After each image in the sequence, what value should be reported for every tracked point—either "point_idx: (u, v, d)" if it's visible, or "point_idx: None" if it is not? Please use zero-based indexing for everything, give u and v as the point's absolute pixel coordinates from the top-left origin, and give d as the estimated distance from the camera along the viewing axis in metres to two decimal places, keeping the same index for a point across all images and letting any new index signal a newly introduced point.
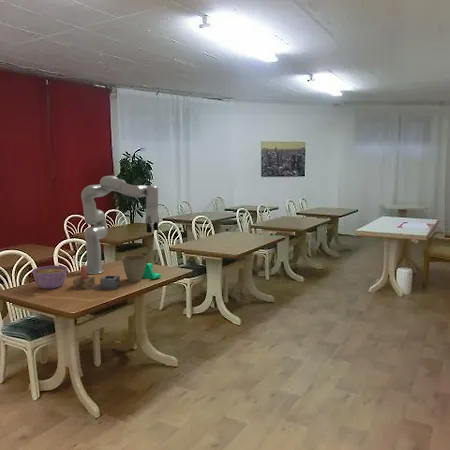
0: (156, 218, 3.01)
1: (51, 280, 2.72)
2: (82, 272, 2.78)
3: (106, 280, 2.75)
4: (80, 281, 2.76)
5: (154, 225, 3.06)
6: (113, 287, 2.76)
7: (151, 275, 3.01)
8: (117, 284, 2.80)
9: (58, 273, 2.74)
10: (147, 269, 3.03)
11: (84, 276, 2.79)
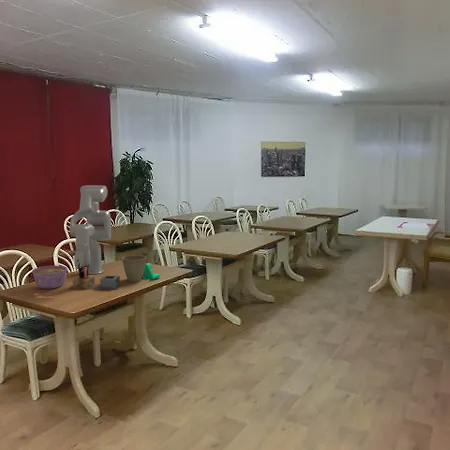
0: (87, 261, 2.80)
1: (51, 280, 2.72)
2: None
3: (106, 280, 2.75)
4: (80, 281, 2.76)
5: None
6: (113, 287, 2.76)
7: (150, 275, 3.01)
8: (117, 284, 2.80)
9: (58, 273, 2.74)
10: (146, 269, 3.02)
11: (84, 276, 2.79)
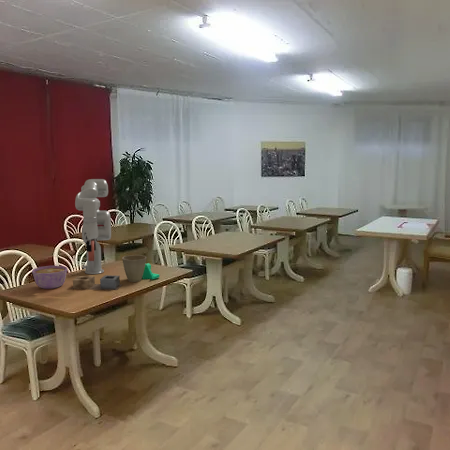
0: (95, 234, 2.77)
1: (51, 280, 2.72)
2: None
3: (106, 280, 2.75)
4: (80, 281, 2.76)
5: None
6: (113, 287, 2.76)
7: (150, 275, 3.00)
8: (117, 284, 2.80)
9: (58, 273, 2.74)
10: (146, 269, 3.02)
11: None
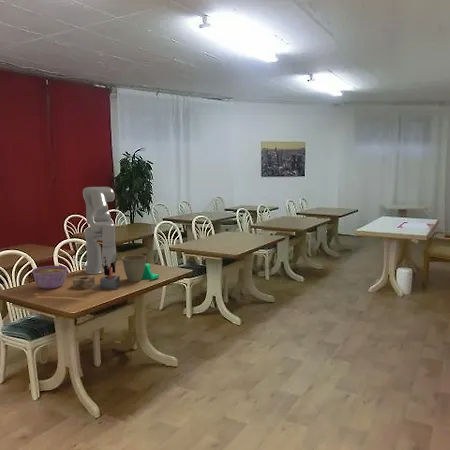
0: (113, 258, 2.78)
1: (51, 280, 2.72)
2: None
3: (106, 280, 2.75)
4: (80, 281, 2.76)
5: None
6: (113, 287, 2.76)
7: (149, 276, 3.00)
8: (117, 284, 2.80)
9: (58, 273, 2.74)
10: (145, 270, 3.01)
11: (110, 276, 2.78)
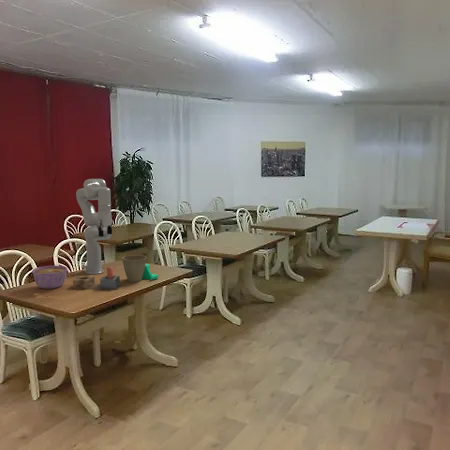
0: (109, 221, 2.90)
1: (51, 280, 2.72)
2: (109, 273, 2.78)
3: (106, 280, 2.75)
4: (80, 281, 2.76)
5: (108, 229, 2.94)
6: (113, 287, 2.76)
7: (149, 276, 2.99)
8: (117, 284, 2.80)
9: (58, 273, 2.74)
10: (144, 270, 3.01)
11: (110, 277, 2.78)
